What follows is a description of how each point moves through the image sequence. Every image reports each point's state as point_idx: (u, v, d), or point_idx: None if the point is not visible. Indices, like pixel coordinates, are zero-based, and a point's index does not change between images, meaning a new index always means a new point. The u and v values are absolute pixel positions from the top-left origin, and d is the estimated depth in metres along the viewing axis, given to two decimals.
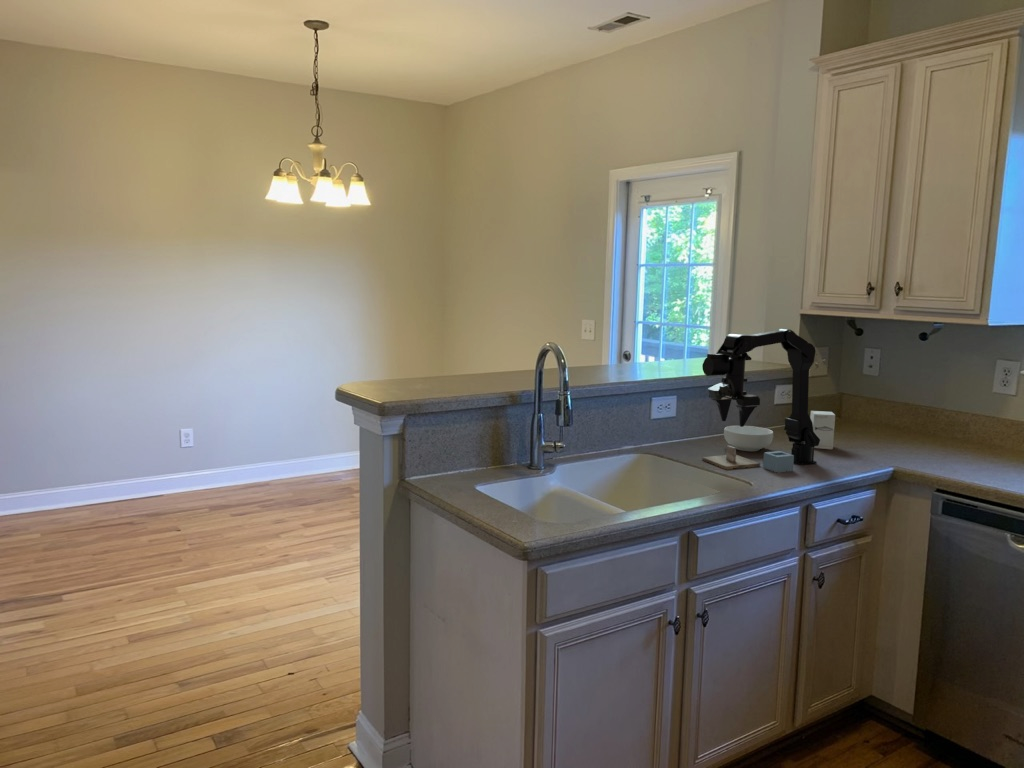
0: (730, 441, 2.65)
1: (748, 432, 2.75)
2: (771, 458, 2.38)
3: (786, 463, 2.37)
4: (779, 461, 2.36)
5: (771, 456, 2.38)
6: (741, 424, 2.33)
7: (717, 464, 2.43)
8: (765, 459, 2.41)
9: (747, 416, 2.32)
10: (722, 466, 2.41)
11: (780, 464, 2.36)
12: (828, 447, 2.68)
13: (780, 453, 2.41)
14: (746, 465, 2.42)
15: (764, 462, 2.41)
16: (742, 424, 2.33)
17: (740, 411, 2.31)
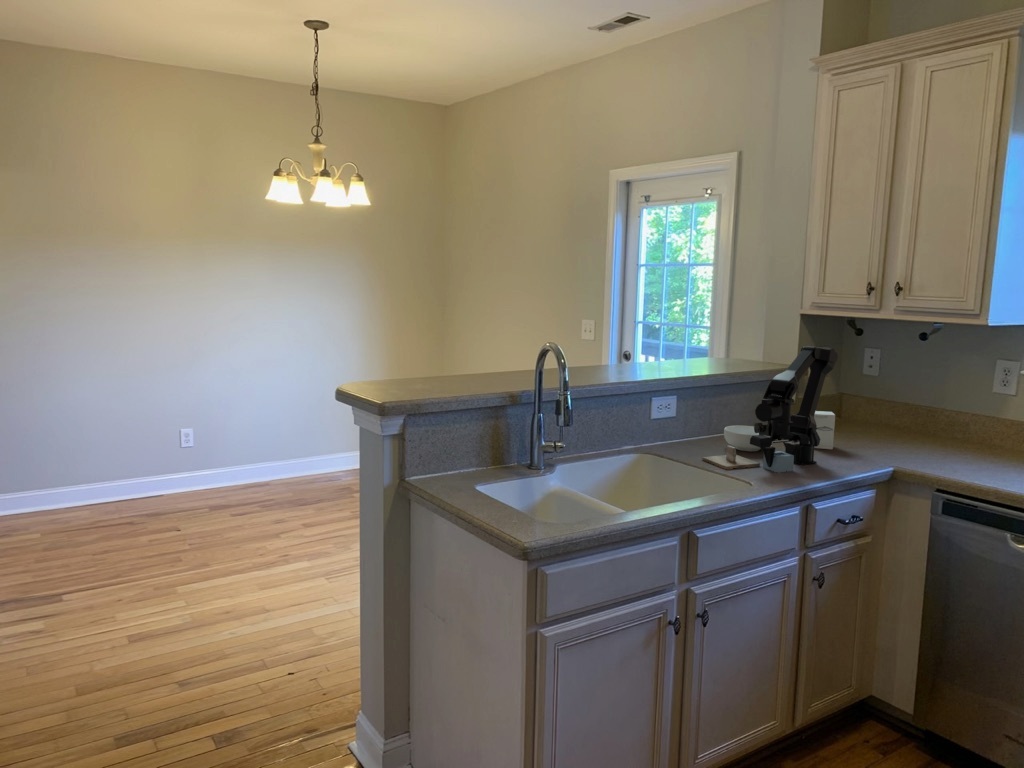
0: (730, 441, 2.65)
1: (748, 432, 2.75)
2: None
3: (786, 463, 2.37)
4: (779, 461, 2.36)
5: None
6: (767, 464, 2.39)
7: (717, 464, 2.43)
8: (765, 459, 2.41)
9: (769, 457, 2.37)
10: (722, 466, 2.41)
11: (780, 464, 2.36)
12: (828, 447, 2.68)
13: (780, 453, 2.41)
14: (746, 465, 2.42)
15: (764, 462, 2.41)
16: (768, 464, 2.39)
17: None
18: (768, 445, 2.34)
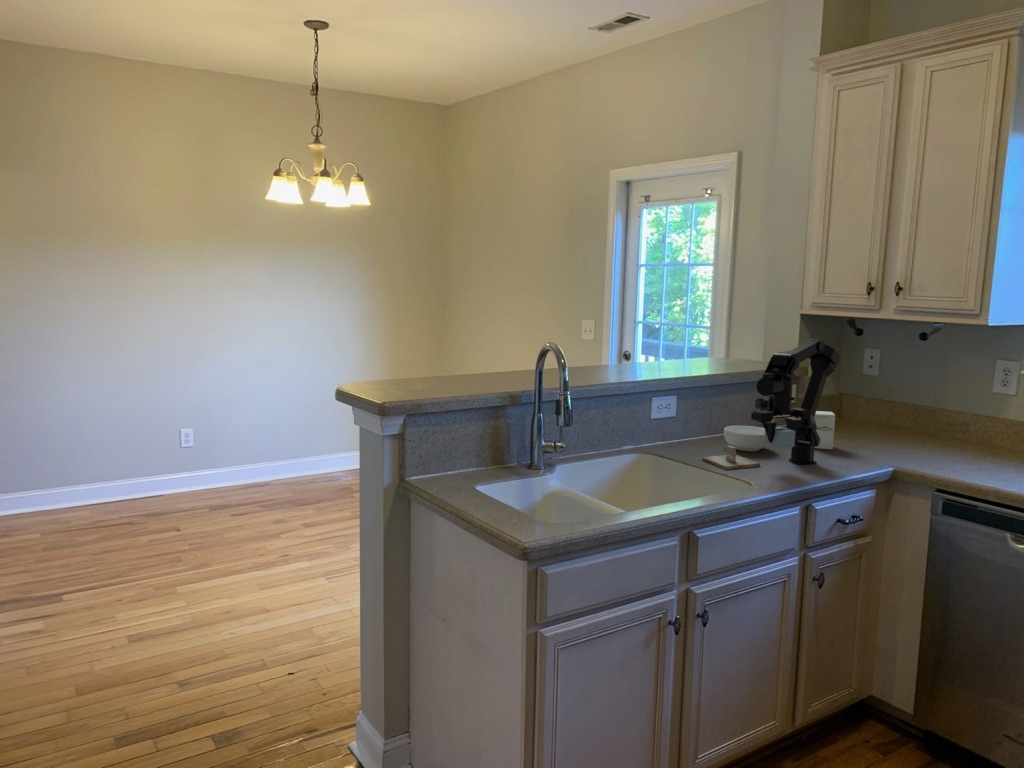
0: (730, 441, 2.65)
1: (748, 432, 2.75)
2: None
3: (787, 438, 2.36)
4: (780, 436, 2.35)
5: None
6: (768, 439, 2.38)
7: (717, 464, 2.43)
8: (766, 435, 2.39)
9: (770, 433, 2.36)
10: (722, 466, 2.41)
11: (782, 440, 2.35)
12: (828, 447, 2.68)
13: (781, 429, 2.40)
14: (746, 465, 2.42)
15: (765, 438, 2.40)
16: (769, 440, 2.37)
17: None
18: (769, 420, 2.32)
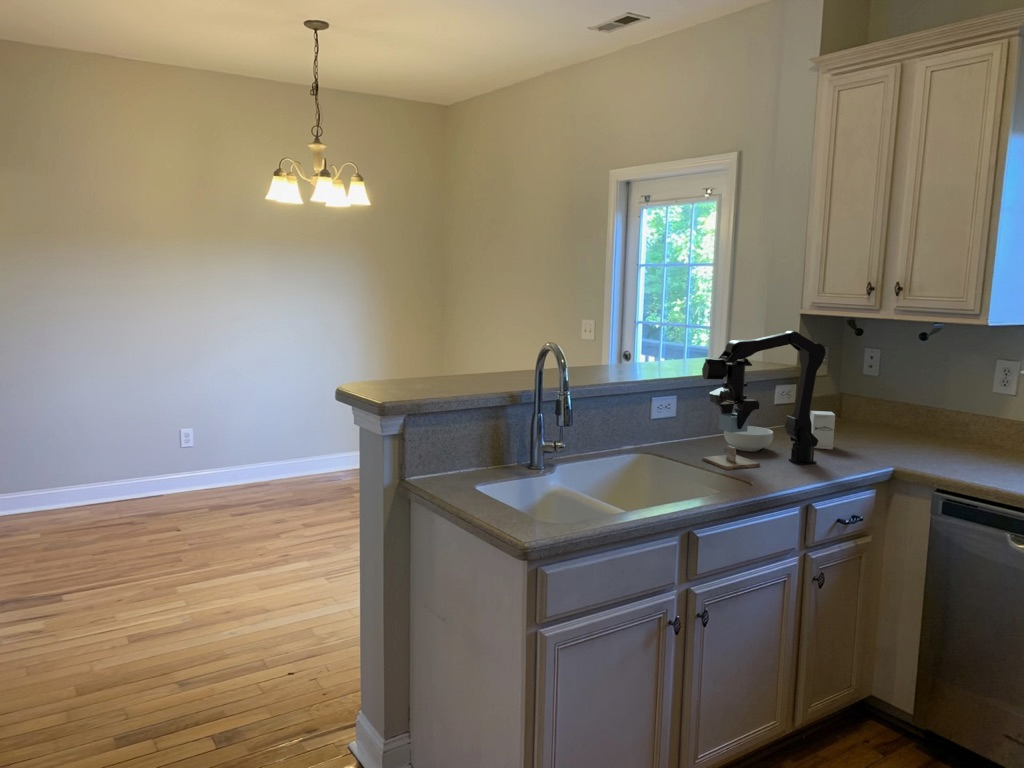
0: (730, 441, 2.65)
1: (748, 432, 2.75)
2: None
3: None
4: None
5: None
6: (739, 427, 2.42)
7: (717, 464, 2.43)
8: (733, 423, 2.42)
9: (744, 419, 2.41)
10: (722, 466, 2.41)
11: None
12: (828, 447, 2.68)
13: None
14: (746, 465, 2.42)
15: (732, 426, 2.42)
16: (740, 427, 2.42)
17: (738, 414, 2.40)
18: None
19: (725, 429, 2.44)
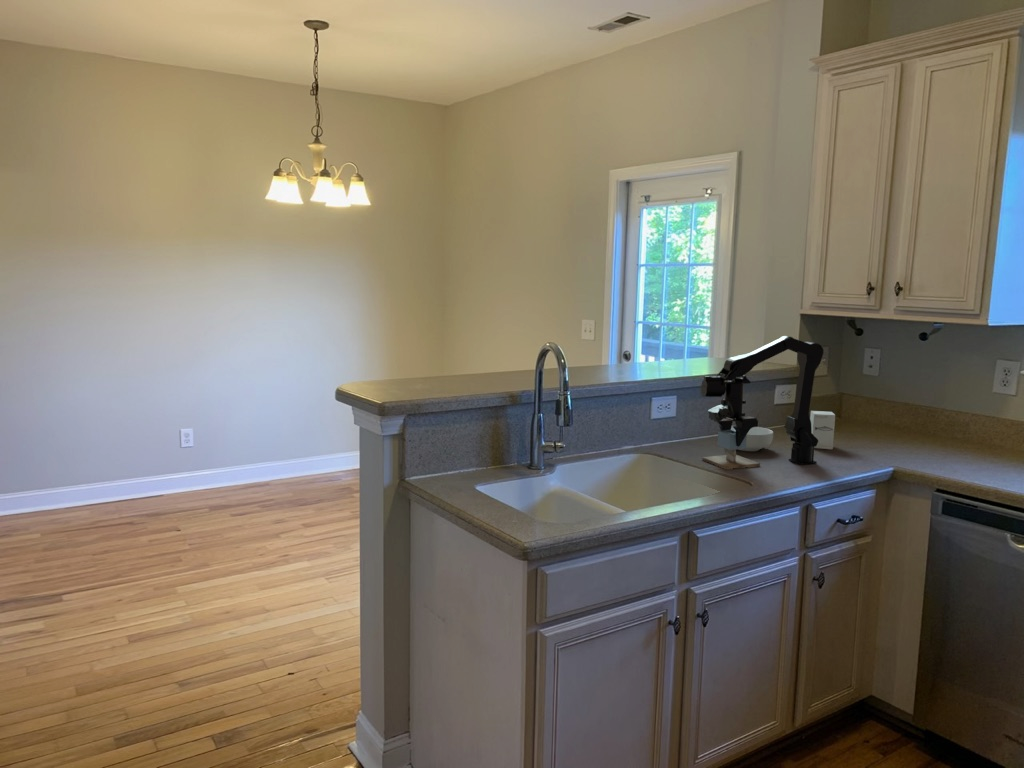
0: None
1: (748, 432, 2.75)
2: None
3: None
4: None
5: None
6: (737, 444, 2.43)
7: (717, 464, 2.43)
8: (732, 440, 2.43)
9: (743, 436, 2.42)
10: (722, 466, 2.41)
11: None
12: (828, 447, 2.68)
13: None
14: (746, 465, 2.42)
15: (731, 444, 2.43)
16: (738, 444, 2.43)
17: (736, 431, 2.41)
18: None
19: (724, 446, 2.45)
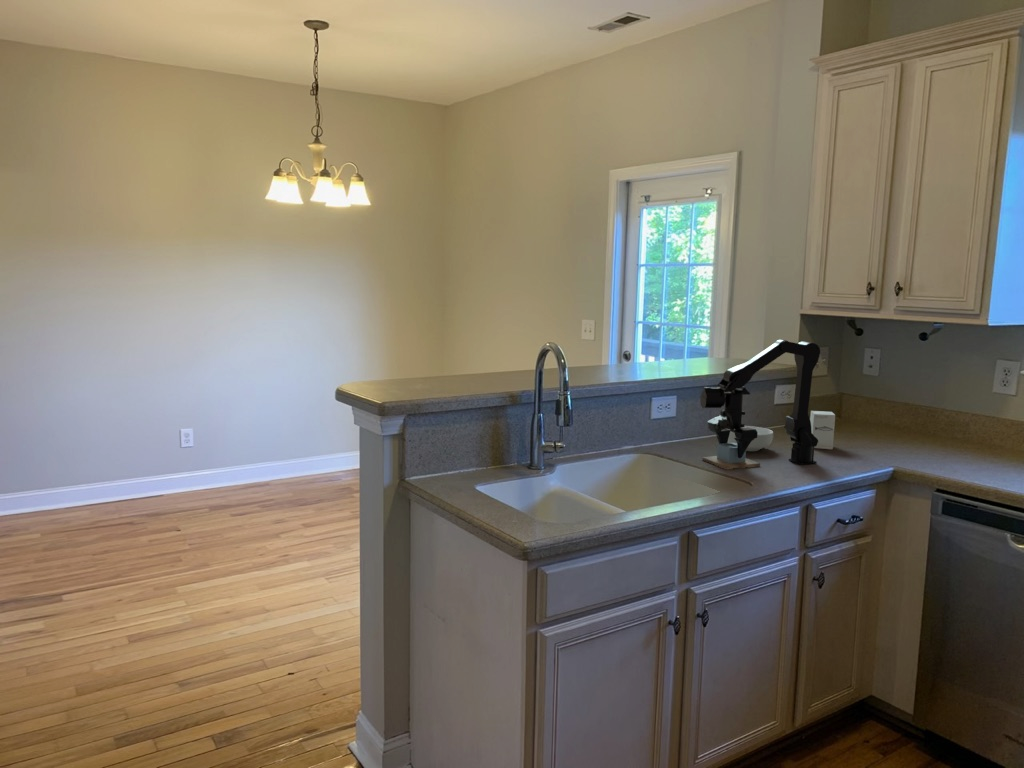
0: (730, 441, 2.65)
1: None
2: None
3: None
4: None
5: None
6: (739, 456, 2.42)
7: (717, 464, 2.43)
8: (731, 454, 2.43)
9: (745, 448, 2.42)
10: (722, 466, 2.41)
11: None
12: (828, 447, 2.68)
13: None
14: (746, 465, 2.42)
15: (730, 457, 2.43)
16: (740, 456, 2.42)
17: (738, 443, 2.41)
18: None
19: (723, 459, 2.46)
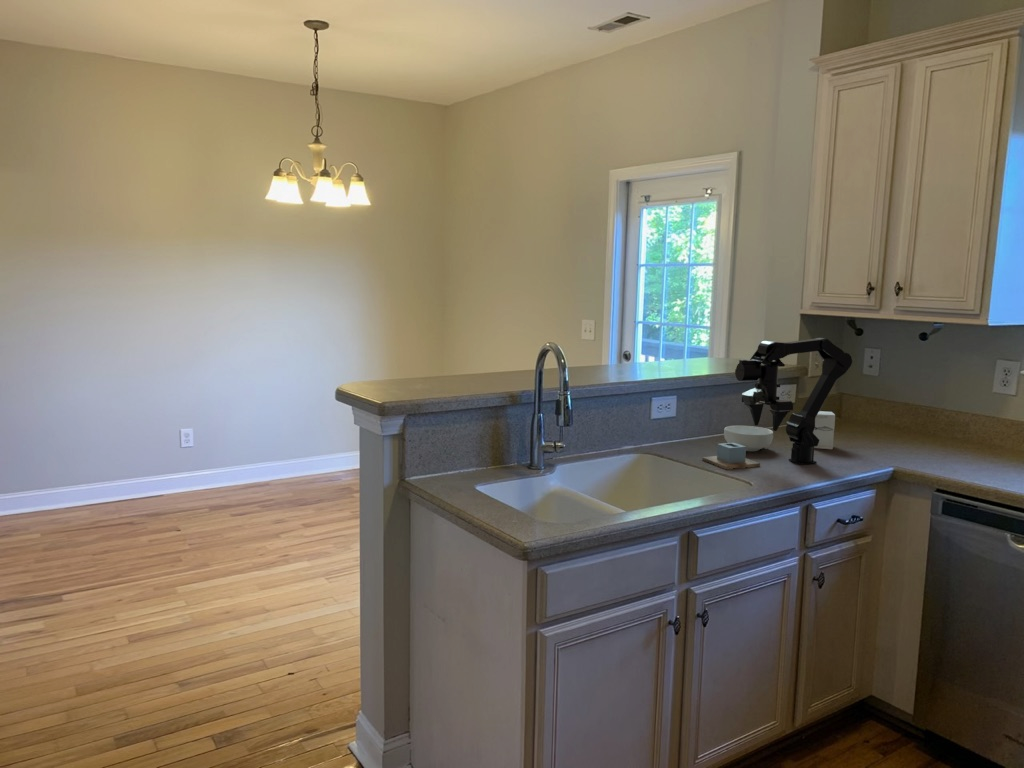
0: (730, 441, 2.65)
1: (748, 432, 2.75)
2: (739, 450, 2.44)
3: None
4: None
5: (739, 448, 2.44)
6: (774, 428, 2.40)
7: (717, 464, 2.43)
8: (731, 454, 2.43)
9: (780, 420, 2.39)
10: (722, 466, 2.41)
11: None
12: (828, 447, 2.68)
13: None
14: (746, 465, 2.42)
15: (730, 457, 2.43)
16: (775, 428, 2.40)
17: (773, 416, 2.38)
18: None
19: (723, 459, 2.46)
